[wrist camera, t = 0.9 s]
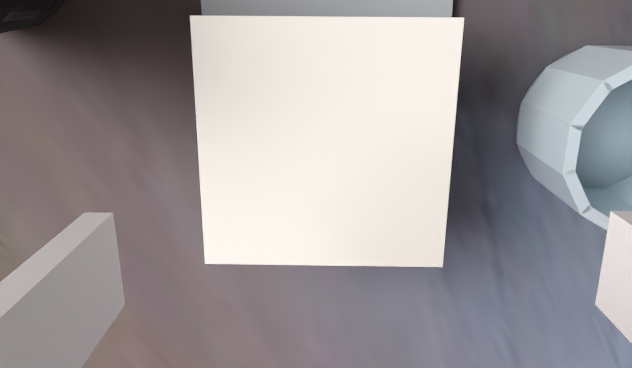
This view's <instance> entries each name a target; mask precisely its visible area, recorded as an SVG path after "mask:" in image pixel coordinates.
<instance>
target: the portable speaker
mask: <svg viewBox="0 0 632 368" xmlns="http://www.w3.org/2000/svg"><path fill="white" fill-rule="evenodd" d="M63 1H64V0H0V33H4V32H8V31H13V30H18V29H23V28H24V27H28V26H32V25H37V24H41V23H42V22H43V21H45V20H46V19H47V18H48V17H49V16H50V15H51V14H52V13H54V12H55V11H56V10H57V9H58V8H59V7H60V6H61V5H62V4H63Z"/></svg>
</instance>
